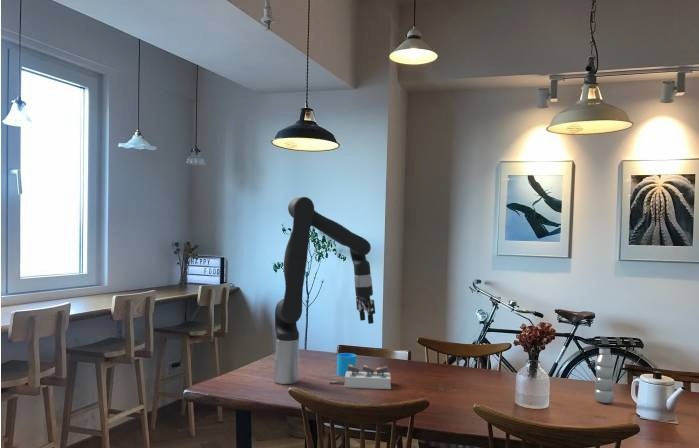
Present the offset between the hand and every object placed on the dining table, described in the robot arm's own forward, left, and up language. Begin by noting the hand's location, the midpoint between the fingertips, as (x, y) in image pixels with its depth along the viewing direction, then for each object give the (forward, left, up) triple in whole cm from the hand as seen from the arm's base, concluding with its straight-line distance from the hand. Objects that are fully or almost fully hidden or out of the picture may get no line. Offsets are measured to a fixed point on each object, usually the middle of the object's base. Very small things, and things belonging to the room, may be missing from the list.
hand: (366, 321), depth 232 cm
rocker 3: (+7, -16, -17) cm, 24 cm away
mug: (-8, +1, -23) cm, 24 cm away
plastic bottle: (+89, -29, -23) cm, 96 cm away
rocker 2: (+1, -16, -17) cm, 23 cm away
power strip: (-2, -17, -23) cm, 28 cm away
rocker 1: (-5, -16, -17) cm, 24 cm away
